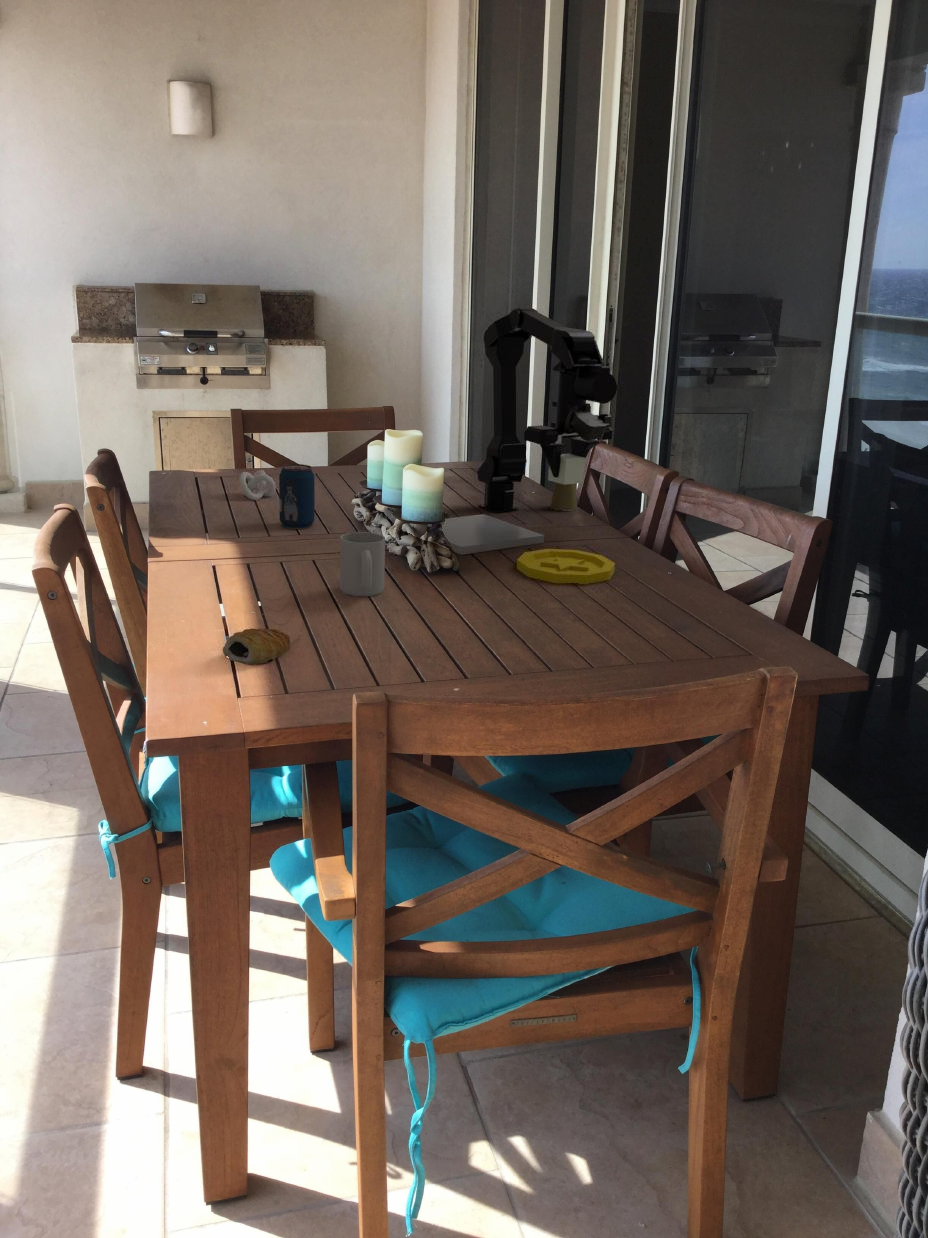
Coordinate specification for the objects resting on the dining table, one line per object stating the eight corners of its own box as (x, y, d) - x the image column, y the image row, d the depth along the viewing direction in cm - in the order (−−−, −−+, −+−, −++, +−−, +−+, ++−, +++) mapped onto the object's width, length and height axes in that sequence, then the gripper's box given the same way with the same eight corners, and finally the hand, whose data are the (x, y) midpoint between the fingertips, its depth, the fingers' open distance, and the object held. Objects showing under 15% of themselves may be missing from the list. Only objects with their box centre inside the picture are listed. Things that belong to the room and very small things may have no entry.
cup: (381, 583, 175) (382, 531, 173) (389, 601, 166) (390, 547, 163) (337, 584, 174) (338, 532, 171) (344, 603, 165) (344, 548, 162)
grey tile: (403, 531, 210) (403, 523, 210) (483, 520, 221) (483, 514, 221) (460, 554, 195) (461, 546, 194) (543, 542, 206) (544, 535, 206)
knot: (234, 494, 236) (233, 468, 234) (269, 492, 239) (268, 467, 237) (242, 501, 229) (241, 475, 228) (278, 499, 233) (277, 473, 231)
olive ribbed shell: (266, 640, 148) (265, 614, 147) (303, 650, 145) (303, 624, 143) (218, 659, 140) (217, 632, 139) (256, 670, 137) (256, 643, 136)
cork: (576, 506, 239) (580, 458, 236) (576, 512, 233) (580, 463, 230) (550, 504, 240) (553, 456, 236) (549, 510, 234) (553, 461, 230)
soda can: (311, 521, 215) (311, 463, 211) (317, 529, 209) (317, 469, 205) (277, 522, 213) (276, 463, 209) (282, 530, 206) (281, 470, 203)
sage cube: (548, 479, 211) (549, 455, 209) (566, 478, 214) (568, 453, 212) (564, 484, 207) (566, 459, 205) (583, 482, 210) (585, 457, 208)
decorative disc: (547, 554, 200) (548, 544, 199) (630, 572, 190) (631, 561, 189) (498, 572, 186) (499, 561, 186) (585, 592, 177) (586, 580, 176)
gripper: (562, 404, 194) (556, 487, 199) (635, 400, 204) (627, 479, 209) (524, 396, 202) (519, 476, 207) (596, 393, 213) (590, 470, 217)
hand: (565, 476), depth 210 cm, fingers closed on sage cube, 5 cm apart
